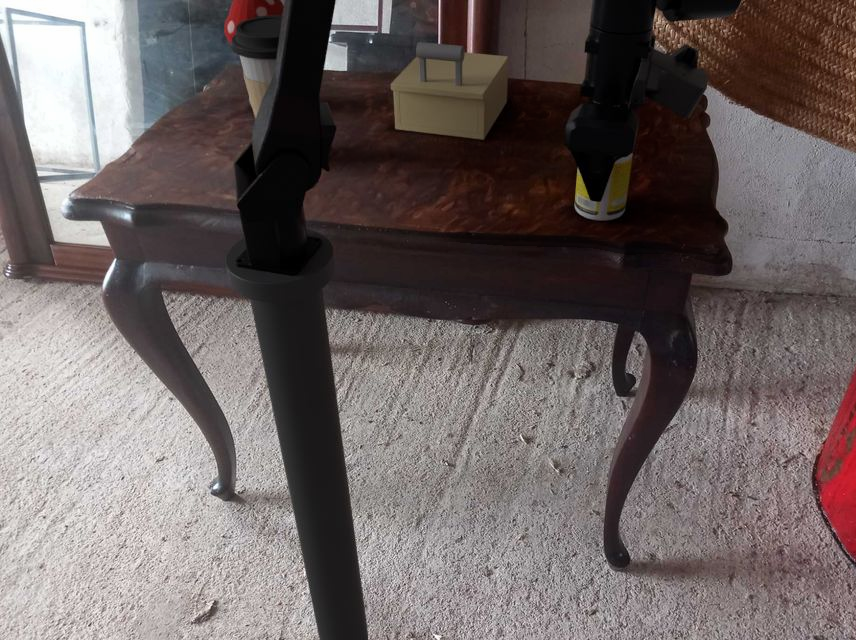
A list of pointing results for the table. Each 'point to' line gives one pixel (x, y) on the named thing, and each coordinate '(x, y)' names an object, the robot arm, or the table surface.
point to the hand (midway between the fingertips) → (602, 180)
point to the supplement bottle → (606, 194)
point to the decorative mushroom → (249, 13)
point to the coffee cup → (257, 53)
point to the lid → (450, 72)
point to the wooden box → (451, 111)
